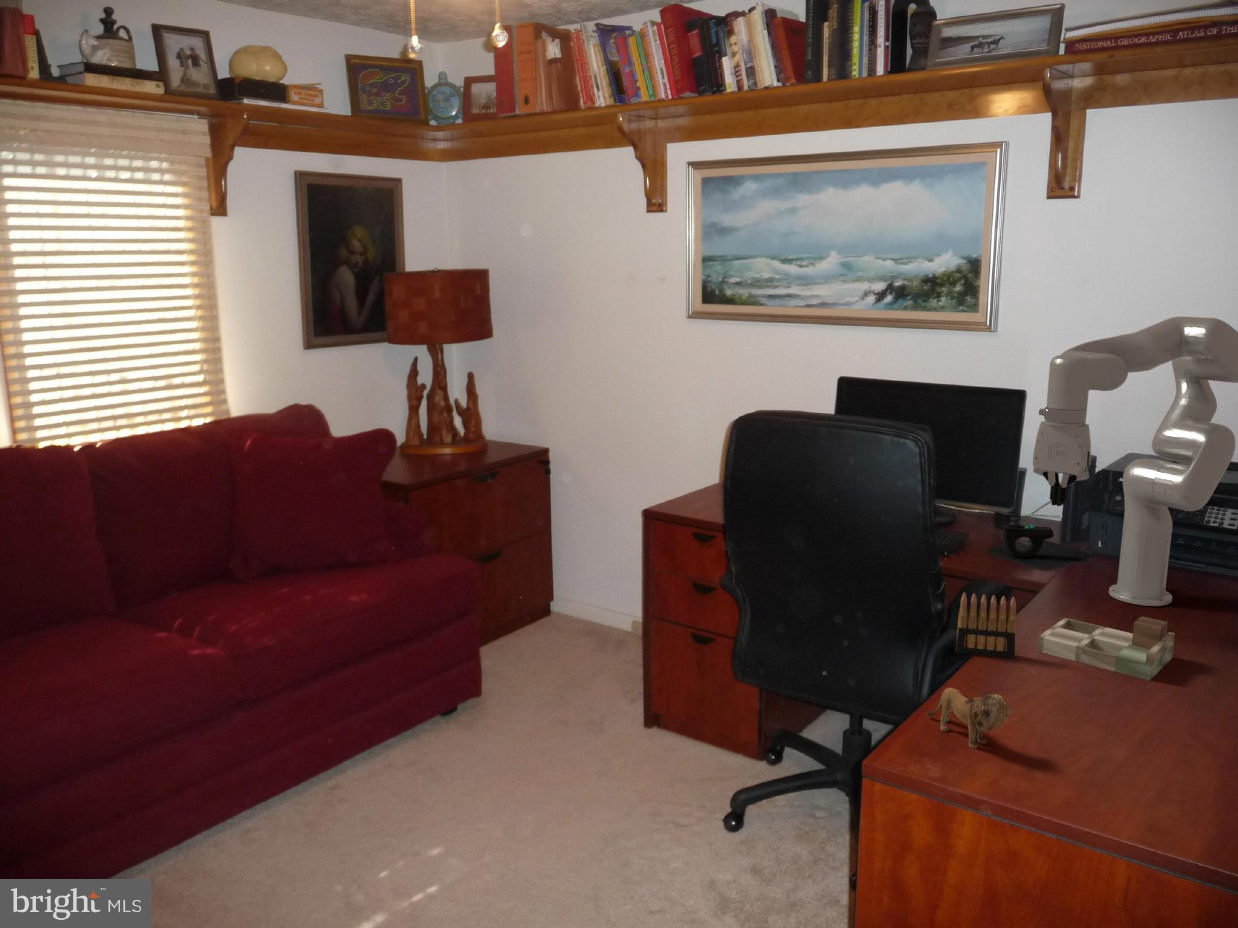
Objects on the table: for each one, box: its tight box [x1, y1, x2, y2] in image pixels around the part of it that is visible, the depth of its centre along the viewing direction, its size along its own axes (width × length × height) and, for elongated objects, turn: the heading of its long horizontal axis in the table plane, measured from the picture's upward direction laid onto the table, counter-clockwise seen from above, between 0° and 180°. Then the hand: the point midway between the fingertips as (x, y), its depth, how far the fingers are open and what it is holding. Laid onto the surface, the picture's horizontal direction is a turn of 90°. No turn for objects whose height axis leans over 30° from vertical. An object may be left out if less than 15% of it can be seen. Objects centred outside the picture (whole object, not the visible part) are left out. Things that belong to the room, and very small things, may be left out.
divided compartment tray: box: [1036, 617, 1176, 682], centre depth 186 cm, size 14×20×5 cm
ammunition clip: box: [954, 592, 1017, 659], centre depth 186 cm, size 11×2×12 cm, turn 73°
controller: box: [1000, 516, 1055, 558], centre depth 248 cm, size 4×12×10 cm, turn 76°
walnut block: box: [1132, 616, 1168, 650], centre depth 183 cm, size 4×4×4 cm
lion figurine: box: [926, 687, 1012, 749], centre depth 154 cm, size 15×5×9 cm, turn 32°
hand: (1058, 504), depth 200 cm, fingers closed
